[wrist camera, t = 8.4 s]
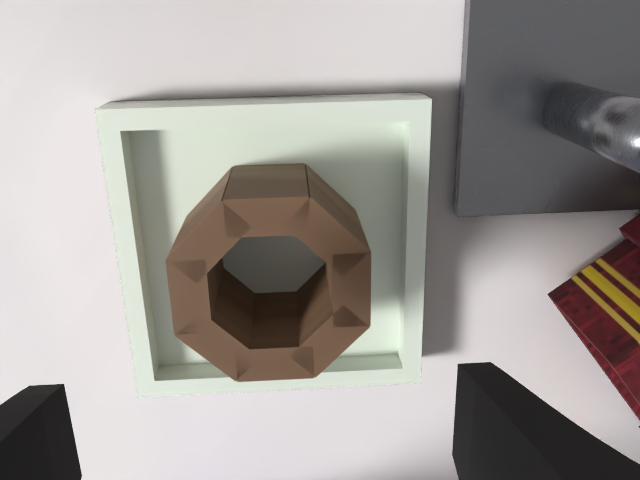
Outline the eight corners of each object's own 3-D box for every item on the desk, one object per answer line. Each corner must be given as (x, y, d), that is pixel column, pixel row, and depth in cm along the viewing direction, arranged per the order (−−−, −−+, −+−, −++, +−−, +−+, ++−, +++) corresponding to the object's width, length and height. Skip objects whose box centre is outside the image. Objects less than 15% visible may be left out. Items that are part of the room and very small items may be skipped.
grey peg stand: (647, 204, 20) (772, 270, 15) (453, 211, 20) (513, 282, 15) (683, -8, 18) (847, -15, 13) (465, -2, 17) (541, -8, 12)
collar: (356, 161, 18) (372, 194, 15) (355, 316, 20) (370, 375, 17) (181, 167, 18) (158, 202, 15) (197, 323, 20) (180, 385, 17)
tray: (411, 359, 22) (420, 383, 20) (147, 372, 21) (138, 398, 20) (420, 92, 18) (432, 98, 17) (109, 101, 18) (94, 109, 16)
